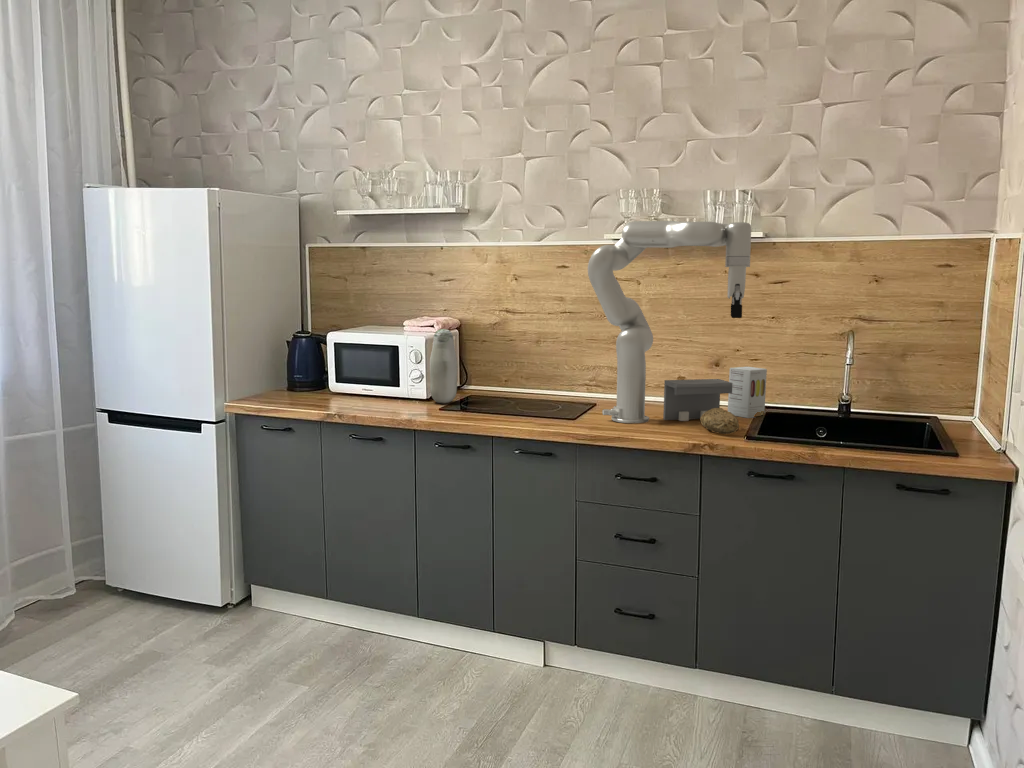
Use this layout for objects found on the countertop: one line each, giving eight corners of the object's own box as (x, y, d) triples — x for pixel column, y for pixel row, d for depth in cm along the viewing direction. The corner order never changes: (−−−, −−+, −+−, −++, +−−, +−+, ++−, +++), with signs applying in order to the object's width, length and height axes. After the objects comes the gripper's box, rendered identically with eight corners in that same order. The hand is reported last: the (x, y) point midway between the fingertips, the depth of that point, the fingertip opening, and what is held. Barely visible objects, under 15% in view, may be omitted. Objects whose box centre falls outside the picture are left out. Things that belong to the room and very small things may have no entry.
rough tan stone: (703, 428, 279) (690, 425, 260) (709, 405, 279) (697, 401, 260) (742, 439, 274) (733, 437, 255) (749, 415, 273) (740, 412, 255)
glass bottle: (426, 401, 319) (426, 328, 315) (451, 400, 323) (451, 327, 319) (435, 405, 310) (434, 330, 306) (461, 404, 314) (460, 329, 311)
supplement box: (747, 418, 289) (750, 370, 287) (726, 414, 296) (728, 367, 294) (765, 416, 295) (767, 368, 292) (744, 412, 302) (746, 365, 300)
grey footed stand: (675, 424, 277) (676, 384, 275) (663, 419, 286) (664, 380, 285) (730, 422, 281) (732, 382, 279) (717, 417, 291) (718, 378, 289)
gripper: (725, 262, 272) (723, 315, 274) (725, 262, 255) (724, 318, 258) (749, 262, 270) (747, 315, 273) (751, 262, 254) (749, 318, 256)
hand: (736, 317), depth 265 cm, fingers open, 9 cm apart
